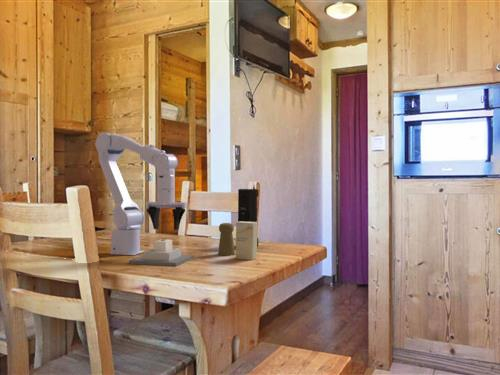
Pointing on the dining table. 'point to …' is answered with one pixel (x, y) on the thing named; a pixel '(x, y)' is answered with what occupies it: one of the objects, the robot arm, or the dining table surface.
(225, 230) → the cork
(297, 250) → the dining table surface
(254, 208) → the portable radio
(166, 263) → the outlet plate
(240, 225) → the skincare box
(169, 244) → the brick
